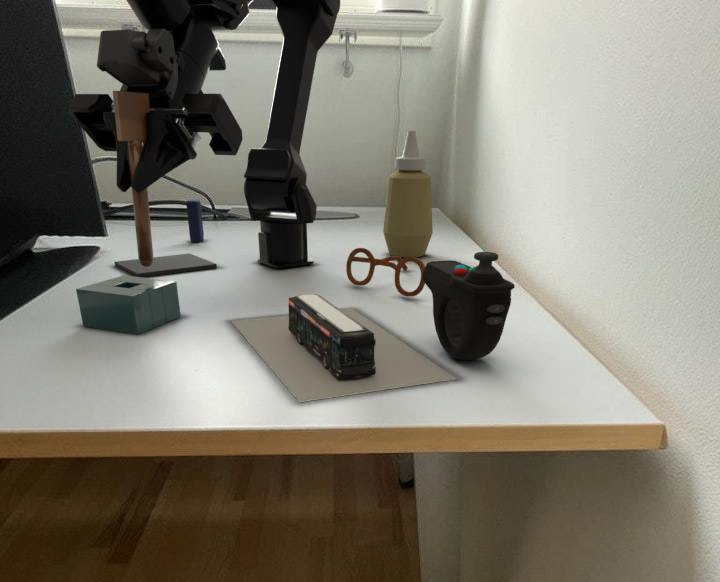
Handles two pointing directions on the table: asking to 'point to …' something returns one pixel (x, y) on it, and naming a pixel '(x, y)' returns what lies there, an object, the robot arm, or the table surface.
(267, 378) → the table surface
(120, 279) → the holder
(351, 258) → the glasses
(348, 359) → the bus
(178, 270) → the mat
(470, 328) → the controller
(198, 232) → the eraser
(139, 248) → the brown rod with block
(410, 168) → the squeeze bottle
